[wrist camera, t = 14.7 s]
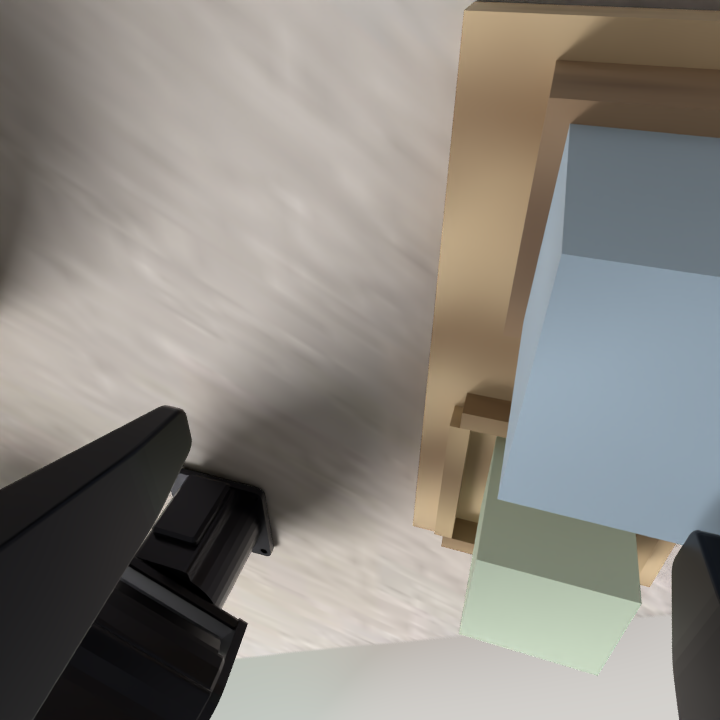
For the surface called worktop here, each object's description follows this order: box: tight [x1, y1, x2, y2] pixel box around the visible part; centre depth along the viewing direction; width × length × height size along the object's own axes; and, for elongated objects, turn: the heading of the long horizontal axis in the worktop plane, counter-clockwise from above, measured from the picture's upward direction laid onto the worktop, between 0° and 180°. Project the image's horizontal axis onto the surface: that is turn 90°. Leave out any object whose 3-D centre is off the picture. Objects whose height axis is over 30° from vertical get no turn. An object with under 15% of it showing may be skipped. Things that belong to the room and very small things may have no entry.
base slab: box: [413, 1, 720, 587], centre depth 19 cm, size 22×11×6 cm, turn 0°
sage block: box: [459, 436, 642, 676], centre depth 22 cm, size 5×5×6 cm
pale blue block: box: [498, 124, 720, 545], centre depth 10 cm, size 5×5×6 cm
